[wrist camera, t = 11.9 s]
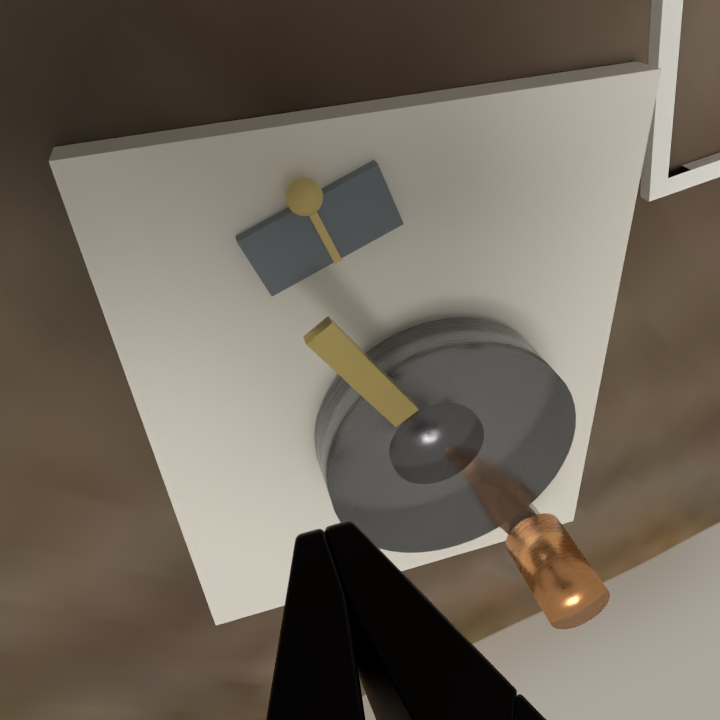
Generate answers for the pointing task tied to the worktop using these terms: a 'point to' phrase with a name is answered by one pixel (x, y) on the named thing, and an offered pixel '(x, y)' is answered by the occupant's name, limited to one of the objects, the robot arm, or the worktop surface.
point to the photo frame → (668, 110)
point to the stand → (347, 279)
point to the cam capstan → (454, 449)
